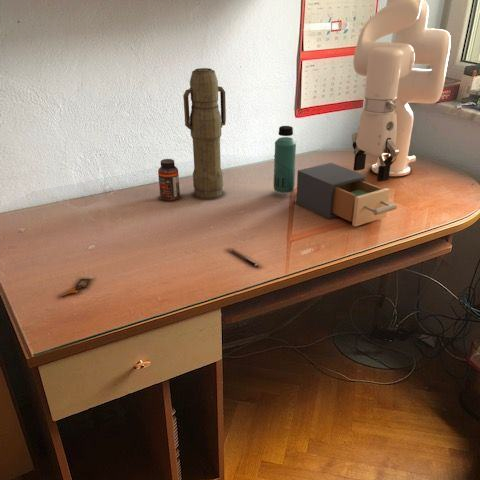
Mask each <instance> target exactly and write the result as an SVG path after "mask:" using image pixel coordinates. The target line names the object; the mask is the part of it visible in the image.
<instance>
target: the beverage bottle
mask: <svg viewBox="0 0 480 480" xmlns="http://www.w3.org/2000/svg"><path fill="white" fill-rule="evenodd" d="M293 135H294V128H293V126H290V125H281V126H279V127H278V136H281V137H279V138H277V139H276V140H275V141H274V155H273V157H274V158H273V160H274V162H273V165H274V167H273V190H274V191H275V192H277V193H282V194H286V193H287V194H288V193H291V192H293V191H295V181H296V151H297V141H296V140H295V139H294V138H292V137H291V136H293Z"/></svg>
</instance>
